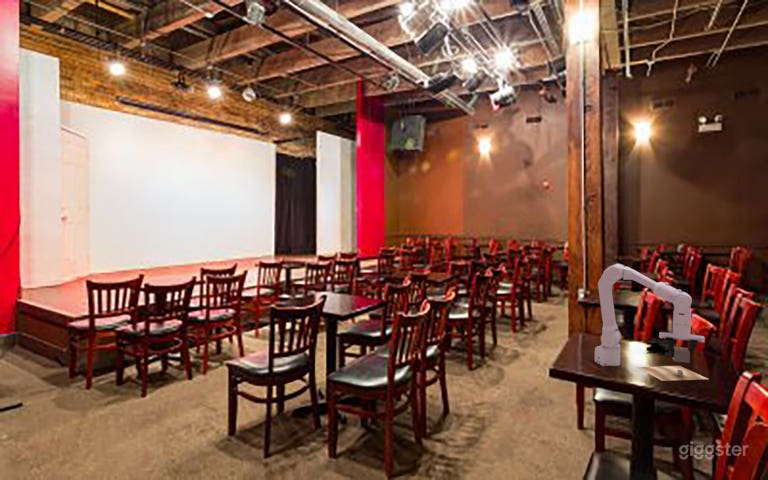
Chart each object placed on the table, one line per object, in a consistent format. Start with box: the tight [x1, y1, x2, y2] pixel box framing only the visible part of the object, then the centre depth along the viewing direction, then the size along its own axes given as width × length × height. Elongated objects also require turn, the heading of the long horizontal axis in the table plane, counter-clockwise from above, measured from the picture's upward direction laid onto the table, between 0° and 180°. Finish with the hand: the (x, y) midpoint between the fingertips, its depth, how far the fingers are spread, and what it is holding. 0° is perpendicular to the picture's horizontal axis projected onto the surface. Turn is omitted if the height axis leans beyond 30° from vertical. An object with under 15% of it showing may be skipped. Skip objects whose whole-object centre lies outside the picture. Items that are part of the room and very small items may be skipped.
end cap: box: [646, 337, 677, 357], centre depth 200 cm, size 10×7×7 cm
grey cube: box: [672, 346, 691, 364], centre depth 169 cm, size 5×5×5 cm
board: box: [636, 365, 709, 382], centre depth 173 cm, size 19×15×2 cm
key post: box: [677, 369, 683, 378], centre depth 170 cm, size 3×1×2 cm, turn 154°
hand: (680, 357), depth 169 cm, fingers closed on grey cube, 5 cm apart
